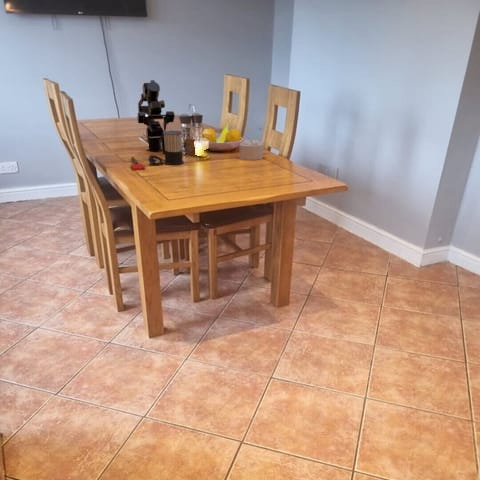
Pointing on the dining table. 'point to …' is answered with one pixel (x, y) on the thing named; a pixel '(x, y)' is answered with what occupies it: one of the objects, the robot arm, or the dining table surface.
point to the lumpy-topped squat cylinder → (251, 150)
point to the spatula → (137, 165)
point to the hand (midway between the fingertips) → (158, 131)
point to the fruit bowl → (223, 139)
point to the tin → (190, 147)
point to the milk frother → (170, 148)
